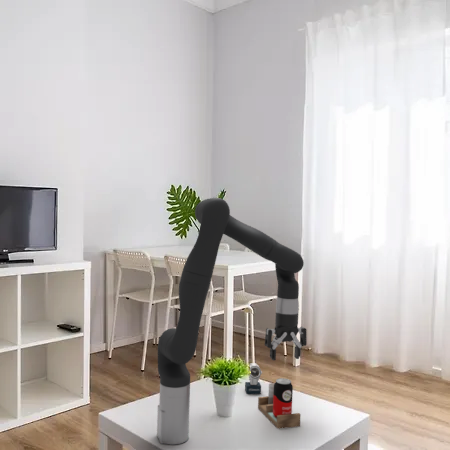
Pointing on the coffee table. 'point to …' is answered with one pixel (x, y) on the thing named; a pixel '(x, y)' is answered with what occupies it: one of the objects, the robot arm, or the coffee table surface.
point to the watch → (253, 380)
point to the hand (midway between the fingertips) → (285, 359)
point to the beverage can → (282, 397)
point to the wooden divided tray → (281, 420)
